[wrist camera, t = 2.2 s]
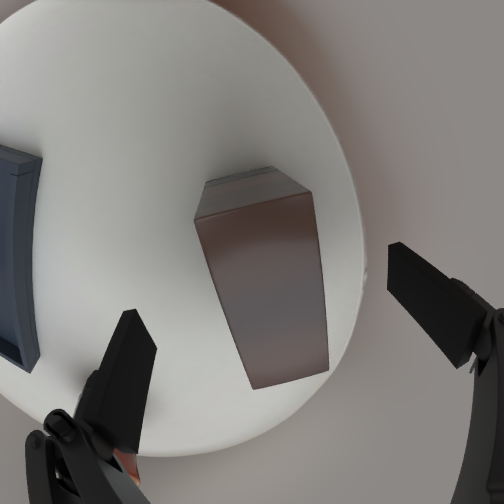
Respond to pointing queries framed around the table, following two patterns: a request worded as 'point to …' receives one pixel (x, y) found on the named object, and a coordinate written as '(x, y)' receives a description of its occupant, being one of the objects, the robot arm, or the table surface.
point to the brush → (267, 272)
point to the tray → (17, 257)
